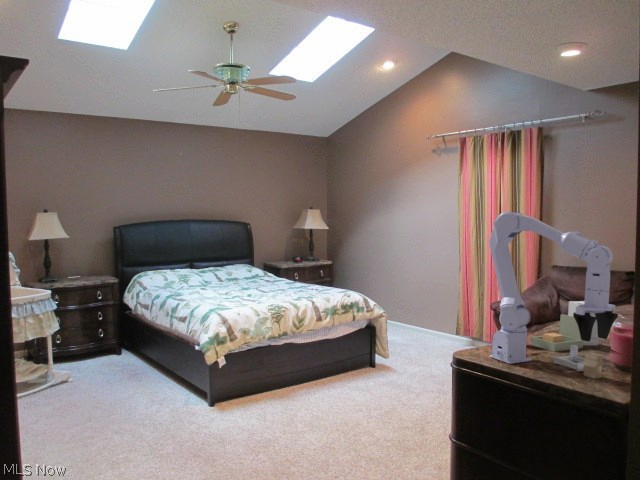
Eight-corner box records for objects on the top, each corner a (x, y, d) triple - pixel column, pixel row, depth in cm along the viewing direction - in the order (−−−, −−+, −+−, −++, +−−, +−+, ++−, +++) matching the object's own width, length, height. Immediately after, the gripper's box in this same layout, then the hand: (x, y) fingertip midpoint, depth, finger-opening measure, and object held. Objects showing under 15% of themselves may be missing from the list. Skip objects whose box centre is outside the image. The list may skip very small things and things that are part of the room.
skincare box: (587, 342, 174) (589, 300, 174) (599, 346, 168) (602, 303, 168) (565, 342, 173) (567, 300, 172) (576, 346, 167) (579, 303, 166)
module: (552, 348, 161) (553, 336, 161) (542, 345, 165) (542, 333, 164) (562, 347, 163) (563, 335, 163) (552, 344, 167) (553, 332, 167)
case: (554, 352, 158) (555, 321, 157) (530, 345, 166) (532, 316, 165) (583, 349, 164) (585, 319, 164) (560, 342, 172) (561, 314, 172)
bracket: (577, 371, 138) (578, 353, 138) (553, 363, 145) (554, 347, 145) (596, 368, 142) (597, 351, 142) (572, 361, 149) (573, 344, 148)
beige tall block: (593, 378, 132) (595, 356, 132) (583, 375, 135) (584, 353, 135) (600, 377, 134) (602, 355, 133) (590, 374, 136) (591, 352, 136)
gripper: (595, 293, 127) (591, 345, 128) (627, 291, 134) (624, 340, 135) (569, 289, 133) (566, 338, 134) (602, 287, 140) (599, 334, 141)
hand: (594, 339), depth 135 cm, fingers open, 7 cm apart
